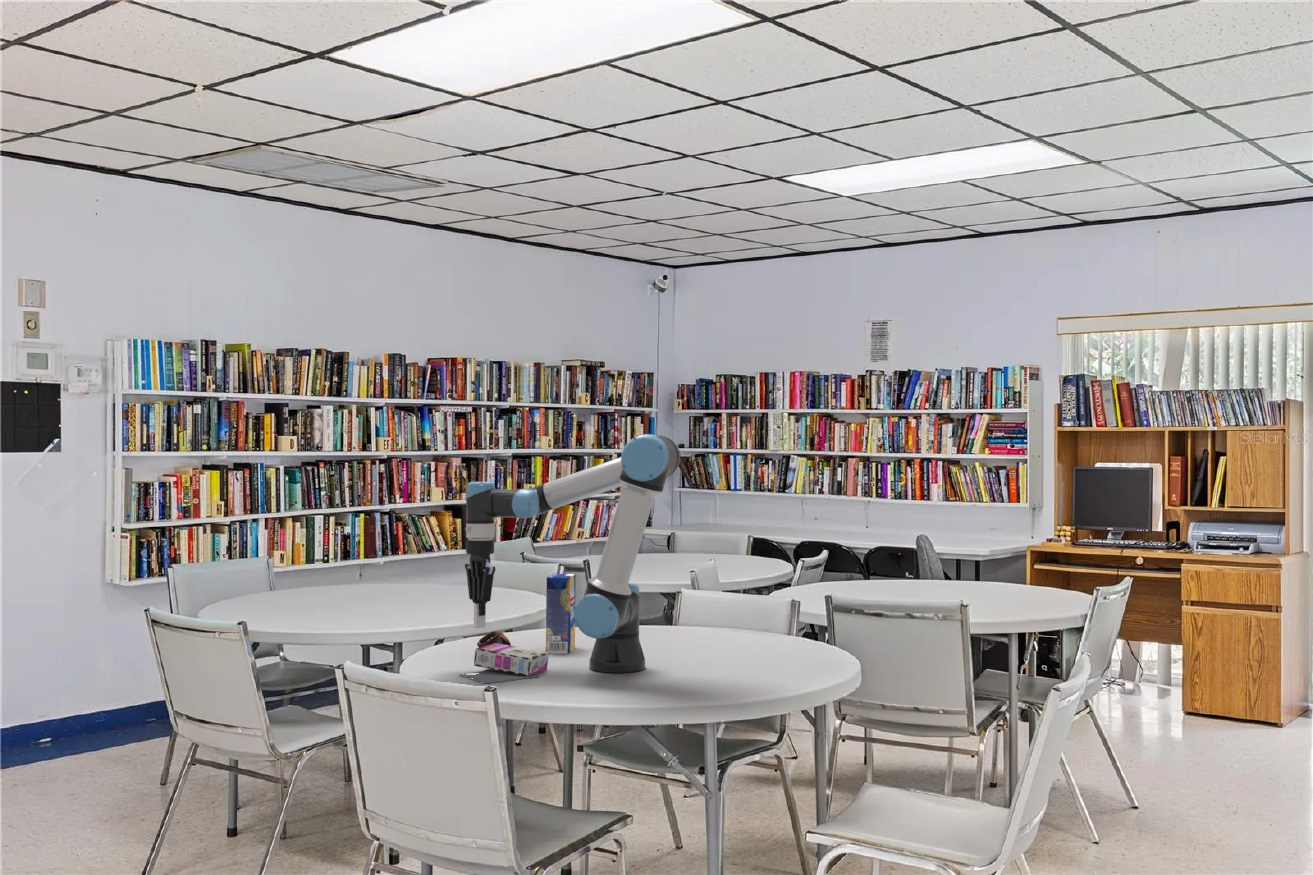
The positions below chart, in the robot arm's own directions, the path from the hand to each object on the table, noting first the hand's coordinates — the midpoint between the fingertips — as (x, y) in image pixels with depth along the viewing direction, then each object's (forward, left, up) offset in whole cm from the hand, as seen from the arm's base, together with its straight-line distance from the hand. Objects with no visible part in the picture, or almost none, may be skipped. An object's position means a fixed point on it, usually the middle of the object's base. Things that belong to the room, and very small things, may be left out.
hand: (479, 627), depth 304 cm
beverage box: (+13, -34, -12) cm, 39 cm away
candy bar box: (-1, -1, -7) cm, 7 cm away
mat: (-11, 0, -11) cm, 16 cm away
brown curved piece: (+16, -14, -12) cm, 25 cm away
